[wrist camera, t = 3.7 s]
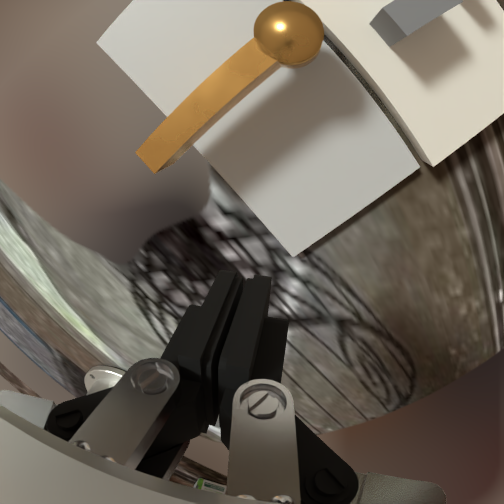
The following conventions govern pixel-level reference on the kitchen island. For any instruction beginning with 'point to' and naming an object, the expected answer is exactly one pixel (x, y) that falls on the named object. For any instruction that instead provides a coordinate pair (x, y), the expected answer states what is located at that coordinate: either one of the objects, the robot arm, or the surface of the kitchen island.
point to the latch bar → (237, 79)
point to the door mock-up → (324, 97)
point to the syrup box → (210, 486)
